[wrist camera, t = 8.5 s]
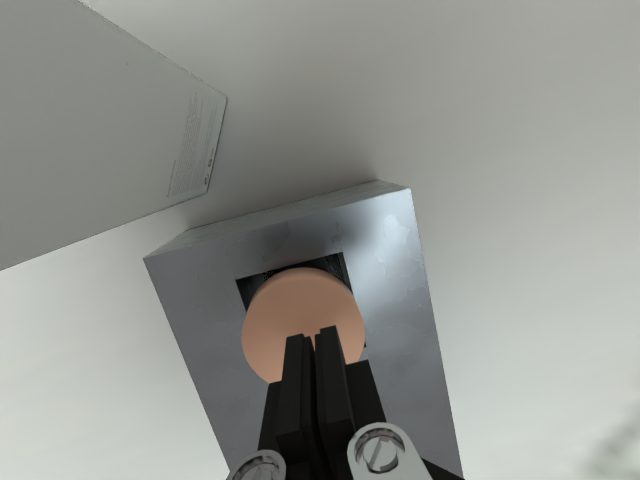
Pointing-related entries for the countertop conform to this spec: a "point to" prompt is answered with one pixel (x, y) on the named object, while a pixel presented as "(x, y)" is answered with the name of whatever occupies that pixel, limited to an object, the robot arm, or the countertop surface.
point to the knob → (299, 315)
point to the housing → (360, 277)
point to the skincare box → (92, 128)
